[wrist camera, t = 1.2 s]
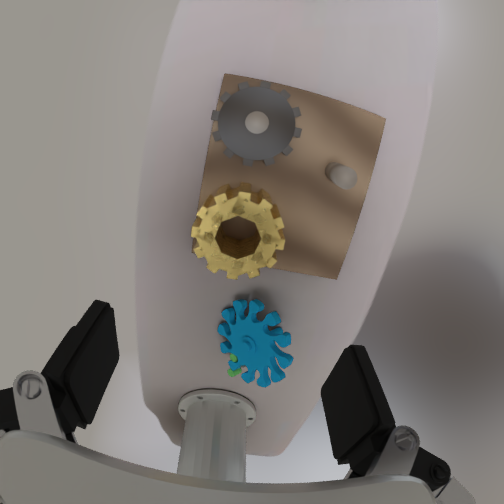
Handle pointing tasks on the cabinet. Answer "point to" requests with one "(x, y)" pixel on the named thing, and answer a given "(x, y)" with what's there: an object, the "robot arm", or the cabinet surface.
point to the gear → (254, 343)
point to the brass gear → (229, 249)
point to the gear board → (294, 166)
